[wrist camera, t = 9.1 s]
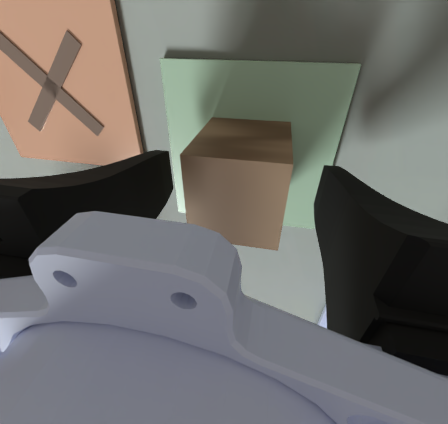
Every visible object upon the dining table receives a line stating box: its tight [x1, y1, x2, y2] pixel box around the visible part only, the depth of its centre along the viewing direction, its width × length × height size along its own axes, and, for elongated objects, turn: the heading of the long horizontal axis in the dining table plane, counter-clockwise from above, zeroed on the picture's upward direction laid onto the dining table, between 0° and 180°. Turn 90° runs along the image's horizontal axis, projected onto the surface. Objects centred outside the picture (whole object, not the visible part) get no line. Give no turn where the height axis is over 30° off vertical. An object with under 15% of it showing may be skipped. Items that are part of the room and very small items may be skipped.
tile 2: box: [160, 58, 361, 229], centre depth 14 cm, size 9×9×1 cm
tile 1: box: [0, 0, 144, 165], centre depth 14 cm, size 9×9×1 cm
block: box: [180, 117, 293, 250], centre depth 12 cm, size 4×4×5 cm
